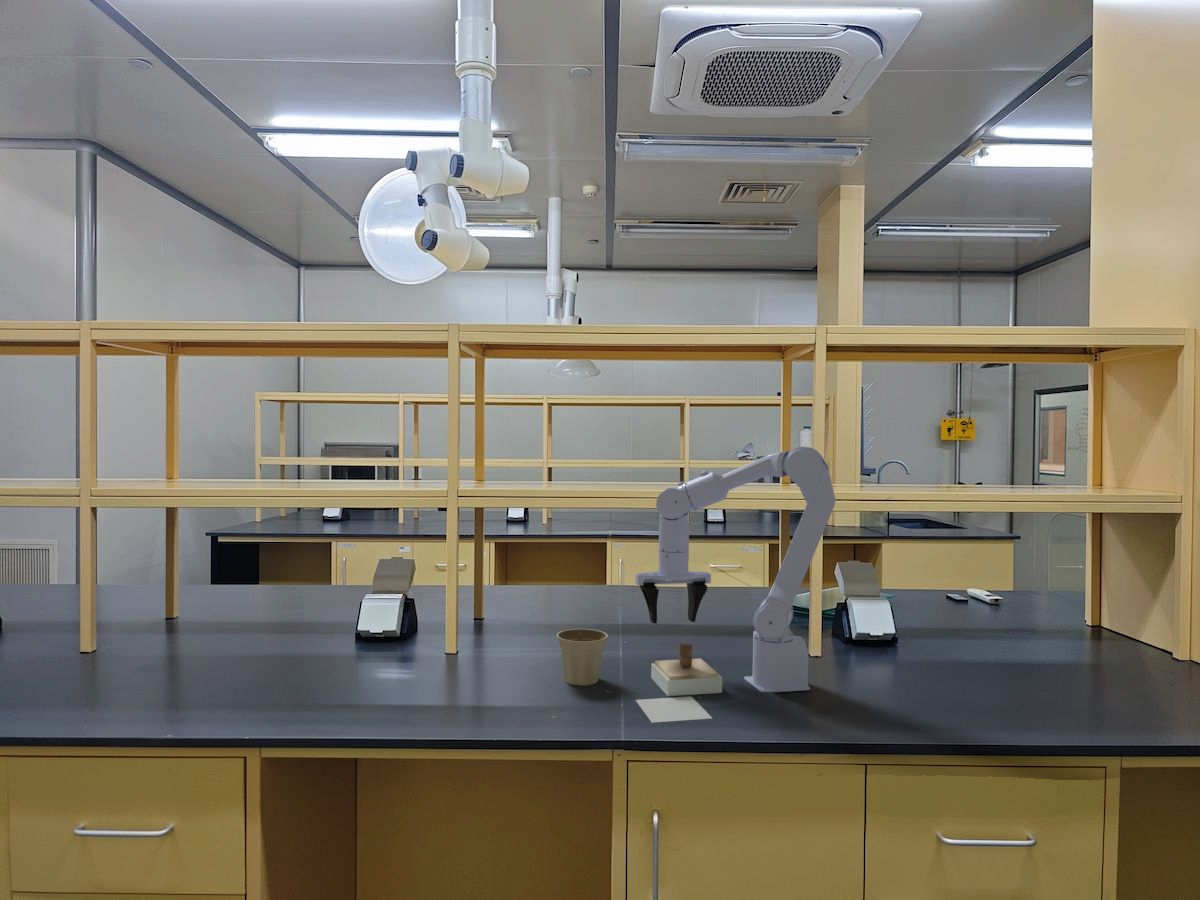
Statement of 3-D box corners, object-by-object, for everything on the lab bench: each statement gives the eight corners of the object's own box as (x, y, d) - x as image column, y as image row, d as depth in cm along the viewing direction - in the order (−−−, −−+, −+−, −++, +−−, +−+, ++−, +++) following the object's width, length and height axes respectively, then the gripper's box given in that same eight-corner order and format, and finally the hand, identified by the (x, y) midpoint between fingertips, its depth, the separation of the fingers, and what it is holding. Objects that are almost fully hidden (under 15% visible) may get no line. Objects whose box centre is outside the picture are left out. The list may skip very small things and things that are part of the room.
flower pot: (579, 670, 137) (579, 625, 137) (617, 681, 131) (618, 634, 131) (545, 682, 130) (545, 635, 130) (584, 694, 124) (585, 644, 124)
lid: (700, 661, 134) (701, 637, 134) (718, 676, 125) (718, 650, 125) (654, 664, 132) (655, 639, 132) (669, 679, 123) (669, 653, 123)
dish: (701, 678, 134) (702, 660, 134) (722, 696, 125) (722, 677, 125) (651, 681, 132) (651, 663, 132) (667, 700, 122) (667, 680, 122)
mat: (691, 698, 122) (691, 696, 122) (712, 720, 113) (712, 718, 113) (635, 702, 120) (635, 699, 120) (651, 725, 110) (652, 722, 110)
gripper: (702, 547, 142) (701, 615, 142) (631, 548, 138) (630, 617, 139) (715, 552, 135) (714, 623, 135) (641, 553, 132) (640, 626, 132)
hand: (672, 621), depth 136 cm, fingers open, 7 cm apart
